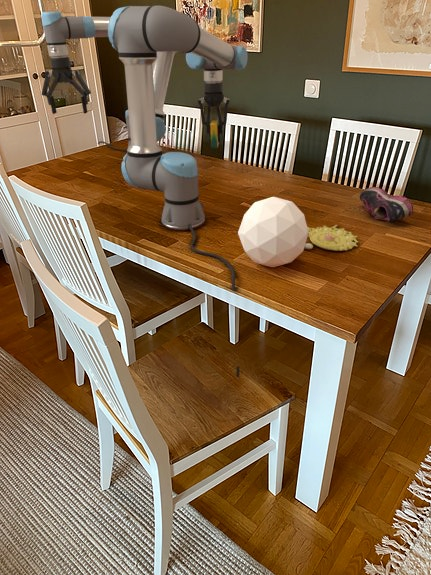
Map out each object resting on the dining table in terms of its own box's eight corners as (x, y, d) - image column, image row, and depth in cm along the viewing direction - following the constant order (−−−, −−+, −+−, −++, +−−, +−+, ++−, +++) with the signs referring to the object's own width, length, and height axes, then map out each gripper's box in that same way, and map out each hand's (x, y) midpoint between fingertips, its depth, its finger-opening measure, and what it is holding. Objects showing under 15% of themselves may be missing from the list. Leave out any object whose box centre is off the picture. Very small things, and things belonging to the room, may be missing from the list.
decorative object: (343, 255, 128) (285, 234, 139) (342, 262, 130) (284, 241, 140) (372, 230, 142) (317, 213, 152) (371, 237, 143) (316, 219, 153)
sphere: (280, 289, 130) (288, 262, 111) (225, 253, 134) (224, 221, 116) (315, 241, 135) (328, 208, 116) (260, 208, 139) (265, 171, 121)
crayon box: (212, 143, 195) (211, 116, 189) (218, 143, 195) (218, 116, 189) (210, 148, 189) (210, 119, 183) (217, 148, 189) (217, 119, 182)
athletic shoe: (369, 185, 163) (343, 194, 159) (416, 181, 144) (388, 190, 140) (374, 215, 166) (349, 224, 162) (420, 215, 146) (393, 225, 143)
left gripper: (25, 58, 174) (38, 115, 186) (86, 57, 172) (96, 114, 184) (33, 56, 180) (45, 111, 192) (92, 55, 178) (101, 110, 190)
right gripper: (192, 83, 176) (195, 143, 188) (232, 82, 175) (233, 143, 187) (194, 80, 182) (197, 139, 195) (233, 80, 181) (233, 138, 193)
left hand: (70, 113), depth 188 cm, fingers open, 13 cm apart
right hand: (214, 141), depth 191 cm, fingers closed on crayon box, 3 cm apart
